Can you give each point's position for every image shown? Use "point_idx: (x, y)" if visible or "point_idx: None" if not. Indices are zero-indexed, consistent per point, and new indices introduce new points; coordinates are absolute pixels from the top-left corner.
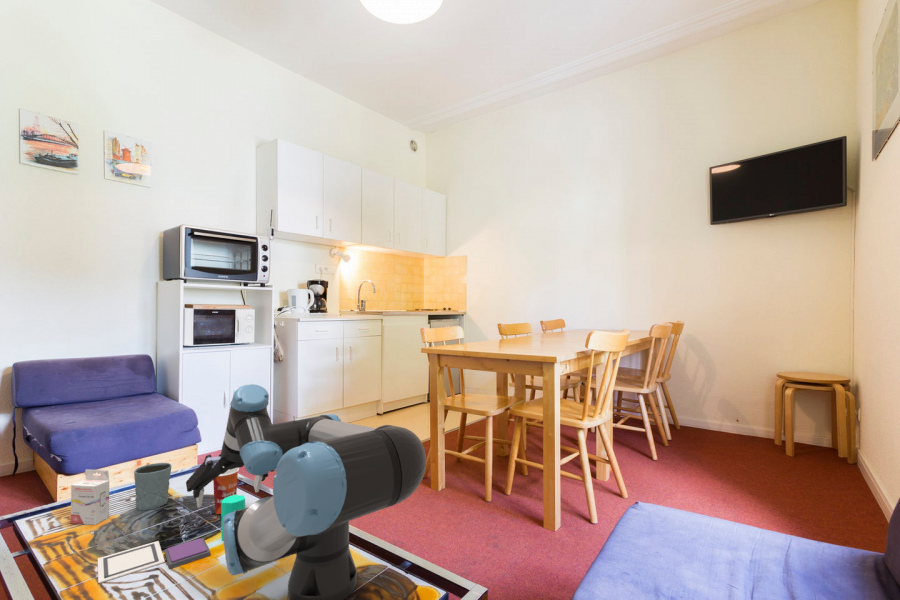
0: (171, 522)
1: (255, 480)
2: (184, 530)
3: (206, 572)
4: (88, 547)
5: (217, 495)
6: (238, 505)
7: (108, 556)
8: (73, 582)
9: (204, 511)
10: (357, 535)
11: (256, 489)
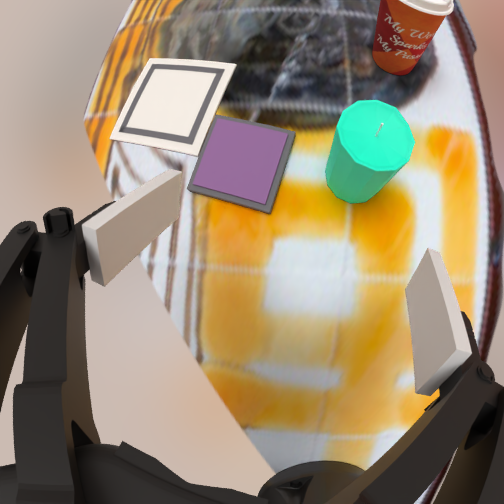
0: (293, 18)
1: (429, 293)
2: (294, 59)
3: (226, 279)
4: (167, 17)
5: (381, 29)
6: (374, 175)
7: (160, 62)
8: (101, 106)
9: (359, 26)
10: None
11: (408, 305)
